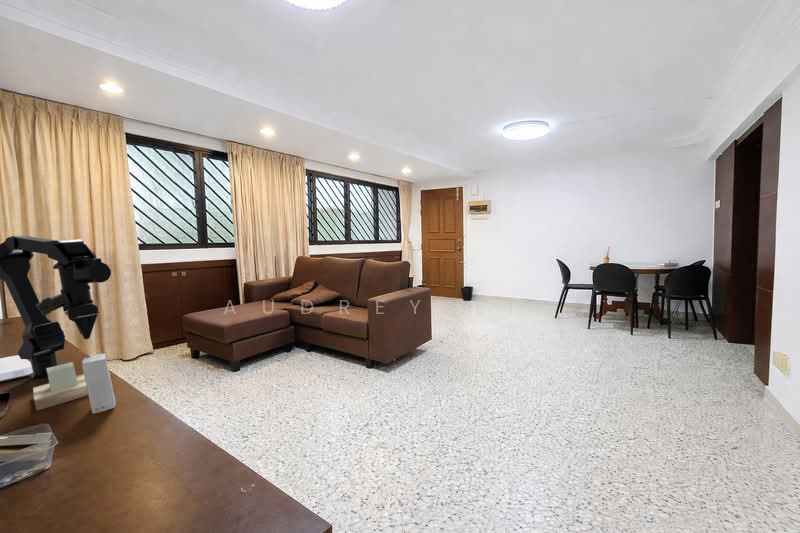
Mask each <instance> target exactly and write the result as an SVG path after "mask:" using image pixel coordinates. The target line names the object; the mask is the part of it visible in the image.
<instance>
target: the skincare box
mask: <svg viewBox="0 0 800 533" xmlns="http://www.w3.org/2000/svg"><path fill="white" fill-rule="evenodd" d="M81 367H82V371H83V373H82V374H84V377H85V382H86V386H87V391H88V395H87V396H88V401H89V404H90V409H91V413H92V414H99V413H102V412H106V411H108V410H112V409H115V407H116V405H117V404H116V396H115V393H114V389H113V388H114V387H113V383H112V379H111V372H110V370H109V365H108V362H107V356H106V352H105V353H99V354H96V355H95V354H94V355H92V356H91V355H90V356H87V357H83V359H82V361H81Z"/></svg>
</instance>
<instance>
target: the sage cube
mask: <svg viewBox="0 0 800 533" xmlns="http://www.w3.org/2000/svg"><path fill="white" fill-rule="evenodd" d="M73 362H74V361H71V362H67V363H63V364H58V366H54V367H50V368H46V369H47V374H48V375H47V378H48V383H49V384H50V389H51V392H53V391H56V390H60V389H63V388H67V387H70V386H74V385H78V383H77V378H76V376H77V374H76V368H75V364H74V363H73Z"/></svg>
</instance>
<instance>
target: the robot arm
mask: <svg viewBox="0 0 800 533" xmlns="http://www.w3.org/2000/svg"><path fill="white" fill-rule="evenodd" d="M34 253H37V254H41V255H42V254H43V255H47V258H49V259H51V260H54V261H55V262H56V264H54V265H53V266H52V268H53V269H54V270H58V273H59V279H60V280H59V281H60V284H61V289H60V294H57V295H54V296H52V297H48V296H47V297H46V298H45V299H41V301H40V300H39V298H38V295H37V293H36V291H35V289H34V287H33V285H32V283H31V281H30V278H29V276H28V275H29V273H30V270H31V267H32V265H31V263H30V261H31V260H32V259H33V258H34V256H35V255H34ZM111 275H112V270H111V268H110V266H109V265H108V264H107V263H104V262H103V261H102V258H100V257H99V258H98V257H96V254H95V253H94V252H93V251H92V250H91V248H89V246H88V245H87V244H86V243H85V241H84V240H82V239H80V238H75V239H58V240H54V239H49V238H41V237H36V236H32V235H10V236H9V237H6V239H5V240H4V241H3V242H2V243H0V280H1V281H3V282H4V283H5V285H6V287H7V289H8V291H9V294H10V296H11V297H12V300H13V302H14V305H15V306H16V308H17V311H18V312H19V315H20V317H21V320H22V322H23V324H24V329H23V332H22V335H21V337H22V338H21V339H22V341H23V343H22V344H21V347H20V348H19V350H18V351H17V354H18V356H19V358H20V359H21V360H29V361H30V366H31V369H32V370H31V371H32V372H31V380H34V379H39V378H43V377H48V374H47V369H46V368H50V367H54V366H58V365H59V361H58V356H57V352H58V351H63V350H64V349H65V342H66V341H65V340H66V335H65V332H64V330H63V329H62V327H61V324H60V323H59V322H58V321H57V320H56V321H52V320H51V319H48V317H47V316H48V315H49V314H51V313H52V312H54V311H56V310H59V309H61V308H62V310H63V313H64V314H65V315H66V316H67V318H68V320H69V321H72V322H74V323H75V326H76V327H77V330H78V332H79V333H80V335H82V338H83V339H84V340H90V338H91V335H92V332H93V329H94V325H95V323H96V321H97V318H98V315H99V313H100V312H99V307H98V306H97V304H94V300H93V299H92V295H91V285H90V284H96V283H97V284H99V283H105V282H107V281H108V280H109V279H110V277H111Z"/></svg>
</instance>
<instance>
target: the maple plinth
mask: <svg viewBox="0 0 800 533" xmlns="http://www.w3.org/2000/svg"><path fill="white" fill-rule="evenodd" d="M76 378H77V383H78V385H74V386H70V387H67V388H63V389H60V390H56V391H53V392H51V389H50V384H49V382H48V383H45V384H41V385H37V386H34V387H33V388H32V390H33V391H32V392H33V402H34V406H35V409H36V410H35V411H40V410H43V409H44V410H45V409H47V408H50V407H54V406H57V405H61V404H63V403H68V402H70V401H71V402H72V401H74V400H76V399H80V398H84V397H86V396H88V391H87V386H86V382H85V377H84V373H82V374H79V375H76Z"/></svg>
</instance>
